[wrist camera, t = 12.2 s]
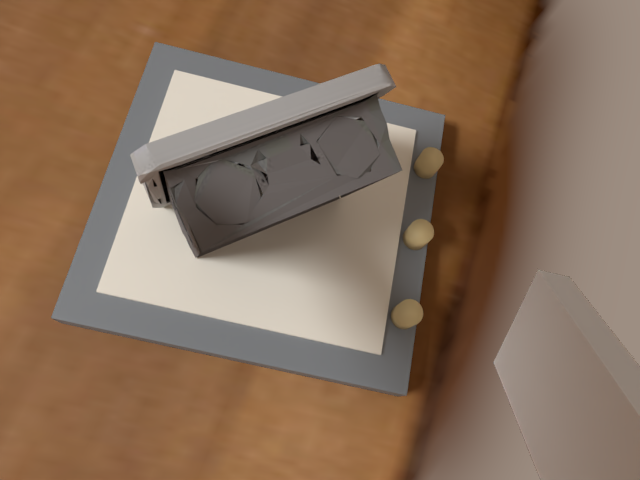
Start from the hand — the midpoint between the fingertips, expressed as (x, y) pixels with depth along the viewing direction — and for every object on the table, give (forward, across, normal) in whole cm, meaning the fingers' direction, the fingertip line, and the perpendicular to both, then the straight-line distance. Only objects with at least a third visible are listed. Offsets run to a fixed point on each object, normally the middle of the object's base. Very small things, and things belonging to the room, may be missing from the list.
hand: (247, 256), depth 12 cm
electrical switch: (+13, 0, -4) cm, 14 cm away
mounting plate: (+14, 0, -5) cm, 15 cm away
